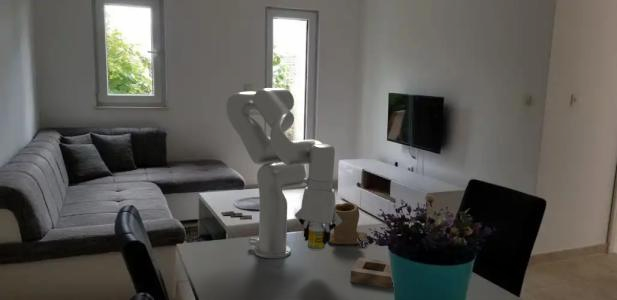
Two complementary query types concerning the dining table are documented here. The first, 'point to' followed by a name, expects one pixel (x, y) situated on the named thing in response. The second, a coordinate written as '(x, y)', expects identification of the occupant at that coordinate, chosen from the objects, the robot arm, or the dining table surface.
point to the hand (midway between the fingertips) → (316, 240)
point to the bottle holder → (372, 272)
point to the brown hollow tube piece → (347, 225)
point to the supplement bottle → (316, 236)
